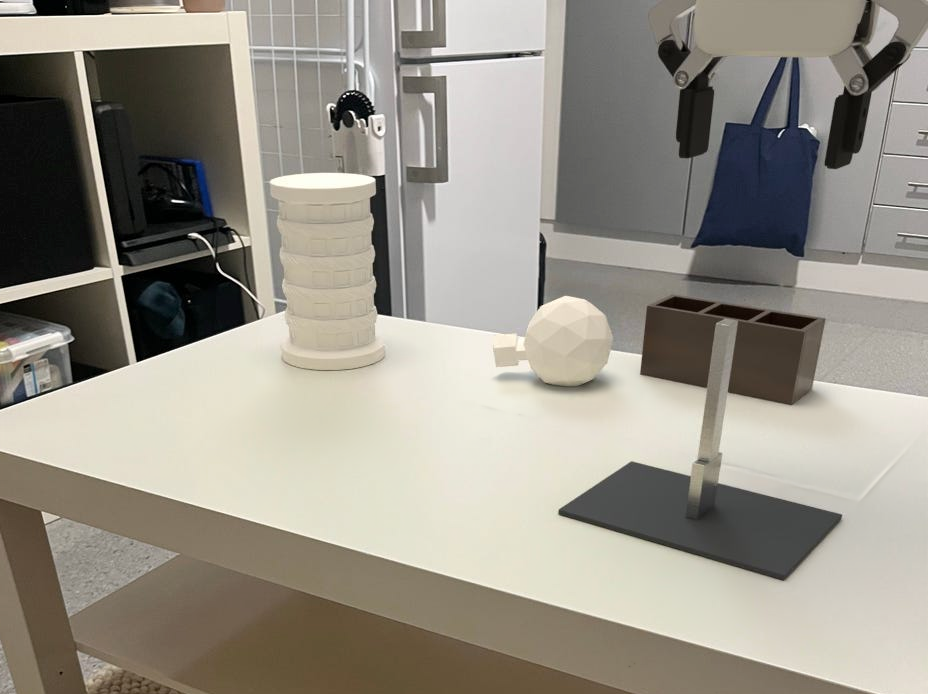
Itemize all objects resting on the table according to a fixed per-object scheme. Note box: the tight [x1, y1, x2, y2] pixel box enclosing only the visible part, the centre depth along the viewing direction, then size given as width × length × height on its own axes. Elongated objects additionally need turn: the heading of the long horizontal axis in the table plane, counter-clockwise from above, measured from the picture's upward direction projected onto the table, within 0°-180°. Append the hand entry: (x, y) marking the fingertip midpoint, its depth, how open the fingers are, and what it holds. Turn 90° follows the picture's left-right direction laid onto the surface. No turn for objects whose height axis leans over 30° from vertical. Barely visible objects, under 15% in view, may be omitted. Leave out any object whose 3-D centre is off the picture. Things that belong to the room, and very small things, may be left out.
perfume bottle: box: [492, 295, 614, 387], centre depth 103 cm, size 9×9×12 cm
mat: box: [557, 460, 843, 581], centre depth 78 cm, size 18×12×1 cm, turn 54°
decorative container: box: [269, 172, 386, 371], centre depth 109 cm, size 12×12×18 cm
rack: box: [639, 293, 826, 406], centre depth 102 cm, size 6×16×8 cm, turn 54°
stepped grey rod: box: [685, 319, 738, 520], centre depth 74 cm, size 1×3×14 cm, turn 144°
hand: (762, 160), depth 65 cm, fingers open, 9 cm apart
